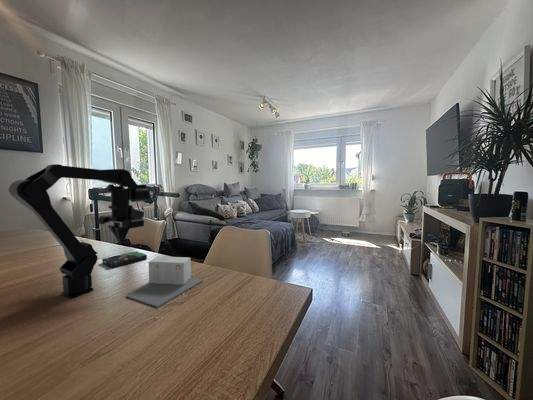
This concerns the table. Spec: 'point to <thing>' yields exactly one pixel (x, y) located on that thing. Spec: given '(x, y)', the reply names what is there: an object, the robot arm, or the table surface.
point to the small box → (170, 270)
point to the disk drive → (123, 259)
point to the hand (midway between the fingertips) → (121, 243)
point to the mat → (161, 292)
